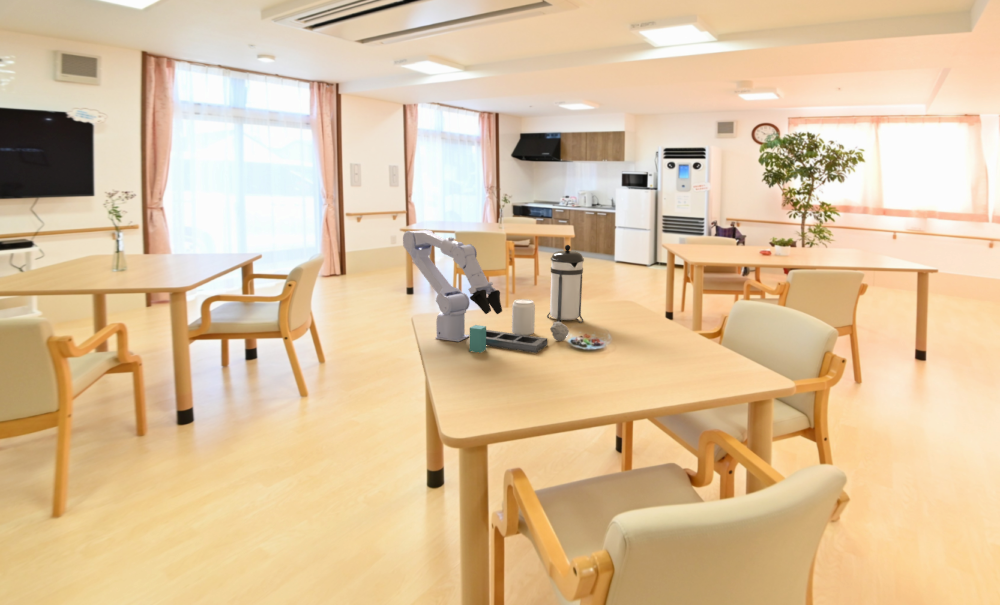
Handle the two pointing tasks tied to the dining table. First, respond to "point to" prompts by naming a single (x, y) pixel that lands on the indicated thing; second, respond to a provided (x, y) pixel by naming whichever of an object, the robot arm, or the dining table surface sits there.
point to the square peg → (477, 338)
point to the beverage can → (523, 317)
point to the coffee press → (566, 285)
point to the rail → (515, 341)
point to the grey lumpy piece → (559, 331)
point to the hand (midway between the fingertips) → (494, 312)
